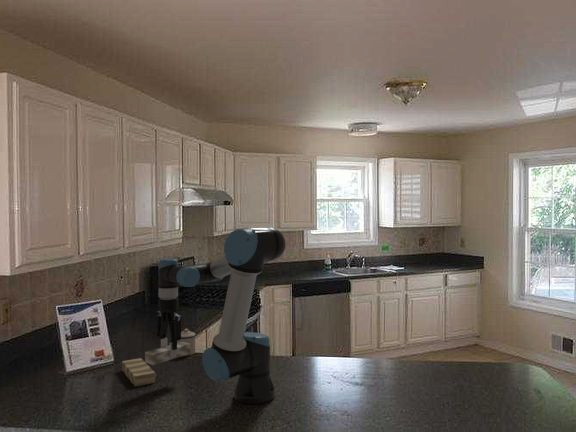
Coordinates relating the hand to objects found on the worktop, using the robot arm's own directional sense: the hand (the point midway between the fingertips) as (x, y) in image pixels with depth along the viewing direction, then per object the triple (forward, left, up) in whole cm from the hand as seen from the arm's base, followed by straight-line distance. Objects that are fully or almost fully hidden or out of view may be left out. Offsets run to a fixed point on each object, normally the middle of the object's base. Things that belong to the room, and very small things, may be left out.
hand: (168, 356), depth 184 cm
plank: (0, 0, -1) cm, 1 cm away
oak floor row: (+16, +8, -11) cm, 21 cm away
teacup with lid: (+37, -19, -11) cm, 43 cm away
